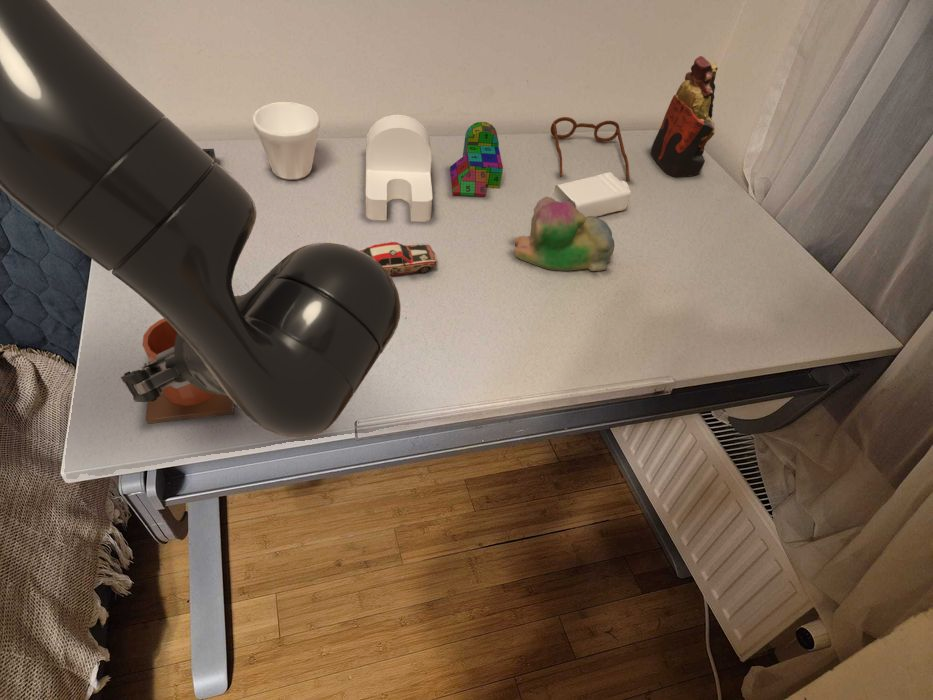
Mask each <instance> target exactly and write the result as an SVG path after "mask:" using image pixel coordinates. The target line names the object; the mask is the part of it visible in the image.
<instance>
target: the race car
mask: <svg viewBox="0 0 933 700" xmlns="http://www.w3.org/2000/svg"><path fill="white" fill-rule="evenodd" d="M359 251H361V252H364V253H365V254H367V255H369V256H370V257H372V258H373V259H375V260H376V261H377V262H378V263H379V264H380V265H381V266H382V267H383V268H384V269H385V270H386V271H387V272H388V274H389V275H390V277H391V276H399V275H407V274H413V273H416V272H418V273H419V274H426V273H427V272H429V270H431V269H435V267H437V266H438V265H437V263H438V262H437V257H436V252H435V251H434V250H433V248H432V246H431V244H429V243H414V244H401V243H400V242H397V241H391V242H383V243H380V244H374V245H371V246H367V247H366V248H364V249H360V250H359Z"/></svg>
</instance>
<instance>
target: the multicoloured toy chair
mask: <svg viewBox="0 0 933 700" xmlns="http://www.w3.org/2000/svg"><path fill="white" fill-rule="evenodd" d="M464 137H465V138H464V143H463V150H462V157H461V158H459V159H457V160H456V161H455V162H454V163H453V164H451V165H450V166H449V174H450V175H449V176H450V183H451V192H452V196H453V197H454V196H456V197H471V198H472V197H474V198H485V197H486V189H500V186H501V181H502V176H503V171H504V166H503V161H502V156H501V151H500V141H499V138H498V137H499V136H498V132H497V130H496V128H495V127H494V126H493V124H491V123H490V122H486V121H478V122H475V123H472V124H471V125H470V126H469V127H468V128H467V130H466V132H465V136H464Z"/></svg>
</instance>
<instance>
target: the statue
mask: <svg viewBox="0 0 933 700" xmlns="http://www.w3.org/2000/svg"><path fill="white" fill-rule="evenodd" d="M718 69H719V67H718V65H717V63H716V62H713V61H710V60H707V58H705V56H702V55H699V56H698V57H696V58H695V59H694V61H693V64H692V65H691V66H690V71H688V72H686V73H685V76H684V80H683V81H682V82H681V84H680V85H679V87H678V88H677V91H676V93H675V94H674V95H673V96H672V98H671V100H670V103H669V105H668V106H667V109H666V112H665V114H664V117H663V120H662V122H661V125H660V128H659V129H658V132H657V134H656V136H655V138H654V141H653V143H652V145H651V149H650V155H651V156H652V158H653V160H654V161H655V162H656V164H657V165H658V166H659V167H660V169H661V170H662V171H663V172H664V173H665V174H667V175H669V176H671V177H675V178H682V177H694V176H697V175H698V174H700V172H701V170H702V169H703V166H704V165H705V163H706V159H705V157H704V155H703V154H704V151H705V147H706V145H707V143H708V141H710V140H711V139H712V137H713V136H714V135H715V133H716V130H715V122H713V120H712V118H713V111H714V100H715V90H716V84H715V82H716V81H715V80H716V77H717V72H718Z"/></svg>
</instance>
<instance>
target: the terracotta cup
mask: <svg viewBox="0 0 933 700" xmlns="http://www.w3.org/2000/svg"><path fill="white" fill-rule="evenodd" d="M176 336H177V332H176V330H175V329H174V328H173V327H172V326H171V325H170V324H169V323H168V322H167V321H166V320H165V319H164V318H161V319H158V320H157V321H156V322H155V323H153V324H152V325H151V326H149V327H148V329H147V330H146V332H144V334H143V337H142V343H141V345H142V348H143V350H144V353H145V354H146V357H147V359H148V362H149V361H150V362H151V361H155V360H156V355H157V354H159V353H161V352H163V351H165V350H167V349H169V348H171V347H174V346H175V339H176ZM160 368H161V367H160ZM161 370H162V371H163V369H162V368H161ZM162 391H163V393H164V395H165V397H166V398H167V399H168V400H169V401H171V402H172V403H175V404H178V405H183V406H191V405H197V404H200V403H203V402H205V401H207V400H209V399H210V398H212V397H213V396H214V395H215V394H212V393H208V392H205V391H203V390H201V389H199V388H197V387H195V386H194V385H192V384H189V385H186V386H184V387H181V388H178V389H175V388H173V387H172V386H168V387H165V389H163V390H162Z"/></svg>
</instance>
